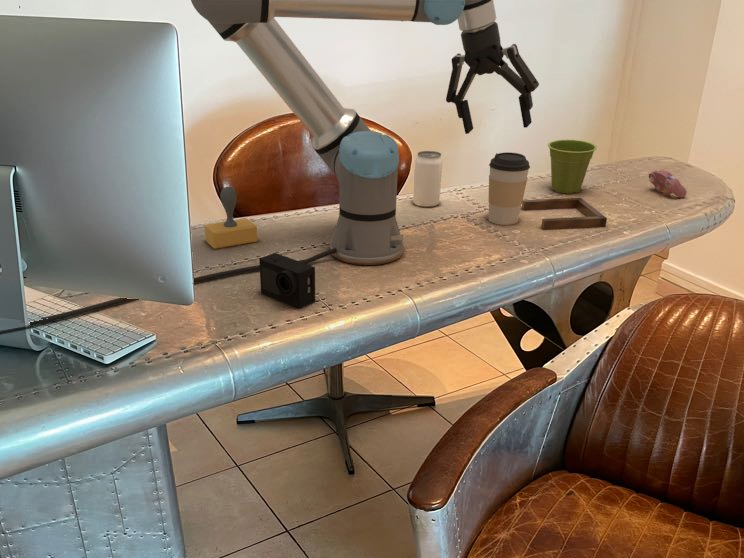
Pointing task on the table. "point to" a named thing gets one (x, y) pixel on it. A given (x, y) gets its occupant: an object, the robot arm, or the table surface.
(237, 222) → the rubber stamp
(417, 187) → the can
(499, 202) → the coffee cup
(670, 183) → the video game controller
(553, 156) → the plant pot
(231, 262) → the table surface
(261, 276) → the digital camera
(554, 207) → the frame
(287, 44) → the robot arm
